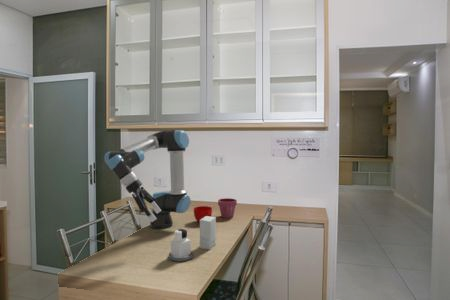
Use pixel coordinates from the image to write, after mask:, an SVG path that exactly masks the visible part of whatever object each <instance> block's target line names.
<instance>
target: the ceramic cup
mask: <svg viewBox="0 0 450 300" xmlns="http://www.w3.org/2000/svg"><path fill="white" fill-rule="evenodd" d="M212 214H213V207H211V206H207V205H206V206H205V205H202V206H201V205H200V206H195V207H194V208H193V216H194V218H195V220H196V221H197V222H198V224H200V220H201V219H202V218H204V217H205V216H210V217H212Z"/></svg>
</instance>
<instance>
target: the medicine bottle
mask: <svg viewBox="0 0 450 300" xmlns="http://www.w3.org/2000/svg"><path fill="white" fill-rule="evenodd" d="M191 242H192V240H191V239H189V238H188V231H187V230H186V229H184V228H183V229H182V228H179V229H176V230H175V231H174V238H173V239H170V253H171V255H174V256H176V257H179V258H182V257H184V256H187V255H189V254H191V252H192V243H191Z"/></svg>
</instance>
